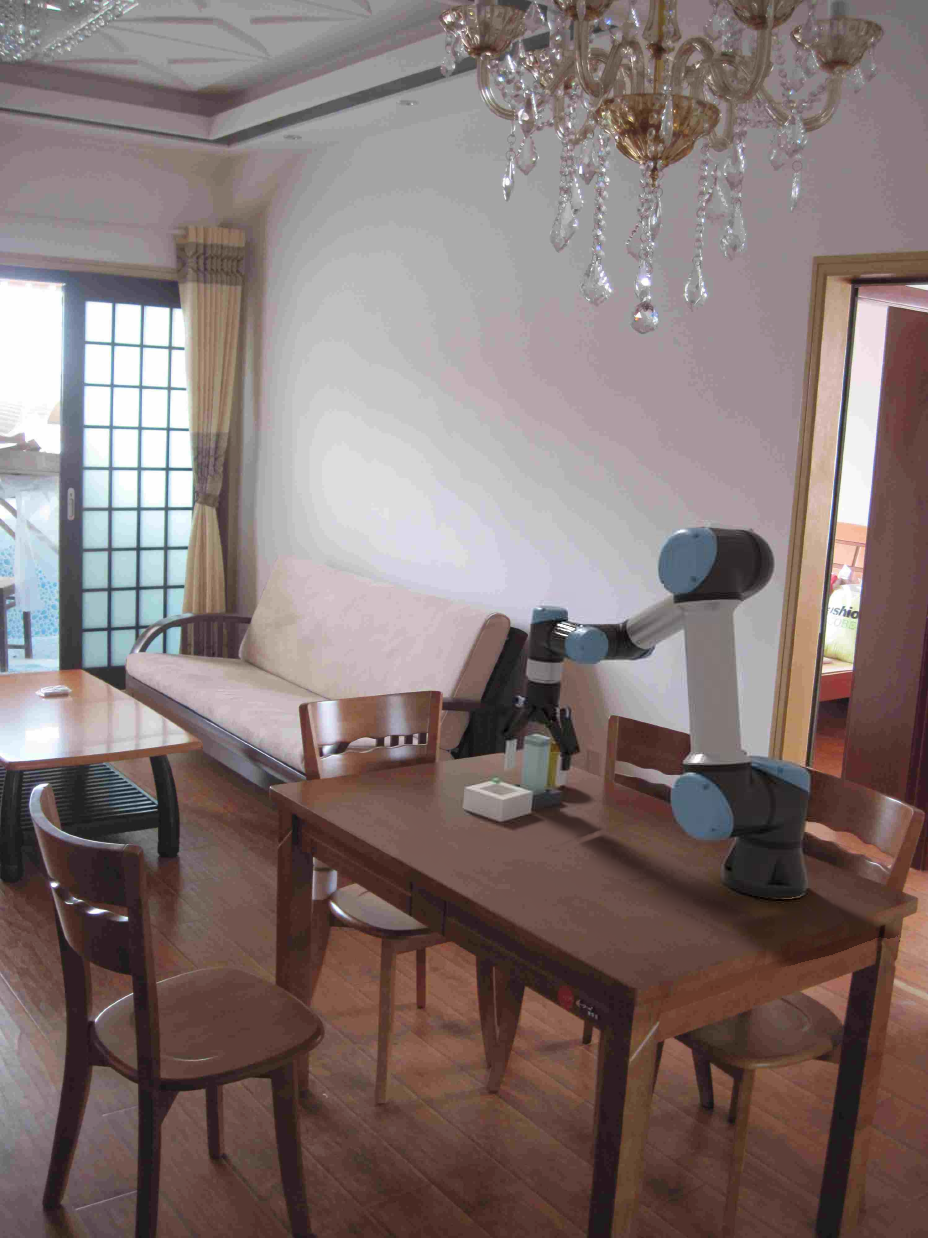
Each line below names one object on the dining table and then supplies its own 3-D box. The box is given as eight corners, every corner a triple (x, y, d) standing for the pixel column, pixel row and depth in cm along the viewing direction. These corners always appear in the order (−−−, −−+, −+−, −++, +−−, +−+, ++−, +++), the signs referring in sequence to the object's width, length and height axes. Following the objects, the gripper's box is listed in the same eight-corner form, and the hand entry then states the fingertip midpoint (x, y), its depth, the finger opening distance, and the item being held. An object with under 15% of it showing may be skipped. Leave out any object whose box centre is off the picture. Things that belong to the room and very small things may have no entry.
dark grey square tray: (560, 804, 246) (562, 791, 246) (535, 812, 240) (537, 798, 239) (527, 794, 252) (528, 781, 252) (502, 801, 245) (503, 787, 245)
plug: (545, 801, 246) (551, 738, 244) (533, 805, 243) (540, 740, 241) (529, 796, 249) (536, 733, 247) (518, 800, 246) (524, 736, 244)
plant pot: (513, 782, 262) (517, 740, 261) (553, 780, 266) (557, 739, 265) (535, 796, 253) (539, 753, 251) (575, 794, 257) (580, 751, 256)
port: (530, 815, 237) (533, 788, 237) (500, 824, 230) (503, 797, 229) (493, 802, 244) (495, 777, 243) (462, 811, 236) (465, 784, 235)
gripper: (603, 689, 237) (592, 788, 240) (508, 667, 253) (499, 761, 256) (582, 692, 231) (572, 794, 234) (486, 670, 247) (477, 765, 250)
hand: (534, 777), depth 245 cm, fingers open, 13 cm apart
